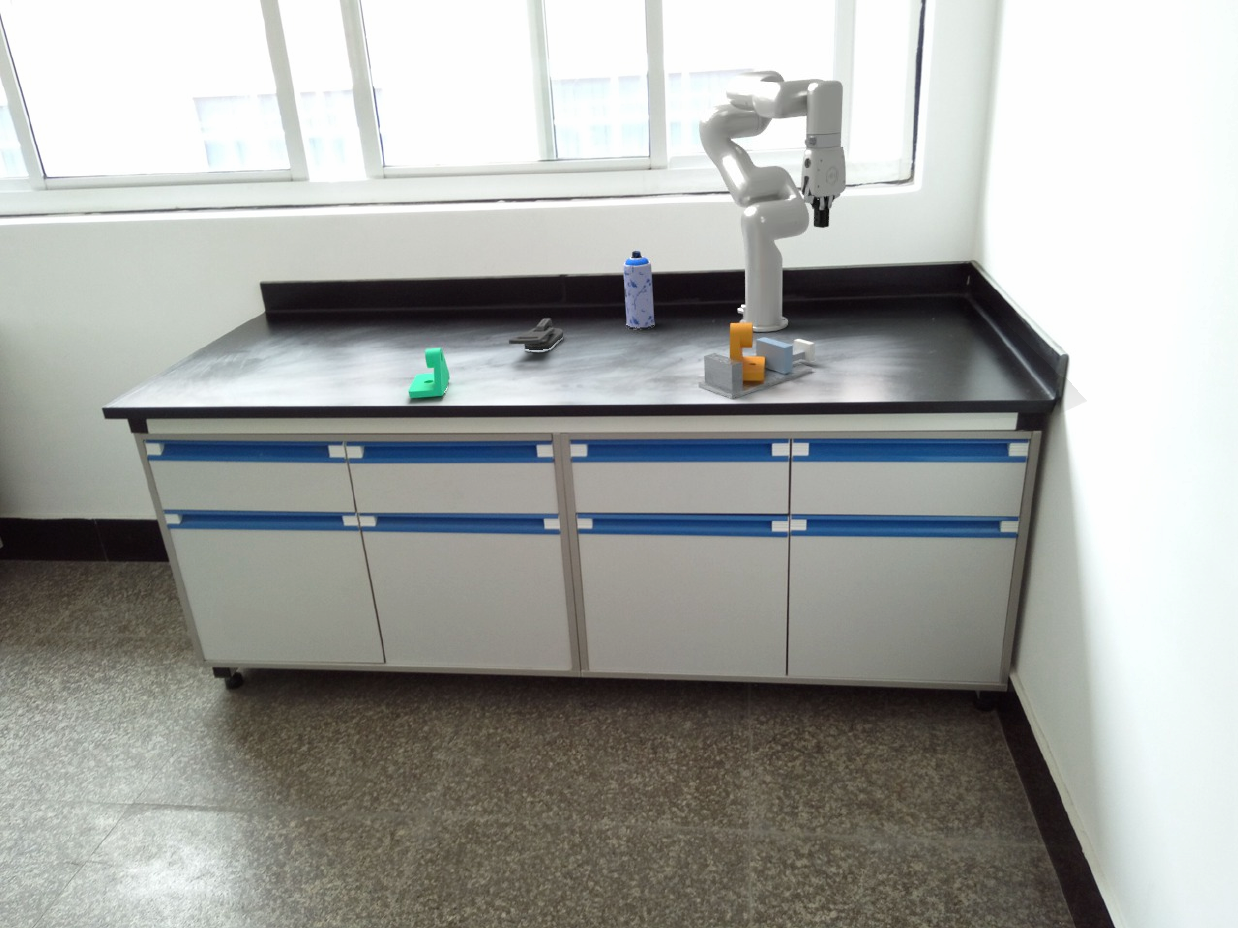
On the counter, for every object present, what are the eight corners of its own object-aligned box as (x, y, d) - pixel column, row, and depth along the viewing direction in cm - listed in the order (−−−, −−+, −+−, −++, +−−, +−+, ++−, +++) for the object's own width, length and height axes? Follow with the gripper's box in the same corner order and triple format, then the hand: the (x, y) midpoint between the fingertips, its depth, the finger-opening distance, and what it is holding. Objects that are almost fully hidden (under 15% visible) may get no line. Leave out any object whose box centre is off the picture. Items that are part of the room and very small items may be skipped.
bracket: (763, 384, 196) (763, 330, 191) (729, 384, 198) (728, 330, 193) (765, 367, 206) (765, 316, 201) (733, 367, 207) (732, 316, 202)
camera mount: (418, 384, 215) (411, 343, 211) (450, 382, 215) (444, 340, 211) (409, 402, 204) (401, 359, 200) (443, 400, 204) (436, 356, 200)
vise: (698, 386, 201) (697, 356, 198) (777, 361, 213) (777, 332, 210) (731, 399, 192) (731, 367, 189) (811, 372, 204) (812, 342, 201)
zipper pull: (505, 340, 220) (531, 312, 242) (508, 366, 223) (534, 336, 245) (540, 340, 218) (564, 311, 241) (543, 366, 221) (566, 335, 243)
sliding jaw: (756, 364, 208) (756, 339, 205) (792, 353, 213) (792, 328, 211) (784, 374, 201) (784, 348, 198) (820, 361, 207) (821, 336, 204)
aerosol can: (628, 321, 251) (623, 249, 243) (656, 321, 250) (652, 248, 242) (624, 329, 244) (619, 255, 236) (653, 329, 243) (649, 254, 235)
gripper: (812, 146, 192) (810, 234, 200) (860, 138, 200) (856, 223, 208) (786, 145, 198) (785, 230, 206) (834, 137, 206) (831, 220, 213)
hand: (821, 226), depth 207 cm, fingers closed
